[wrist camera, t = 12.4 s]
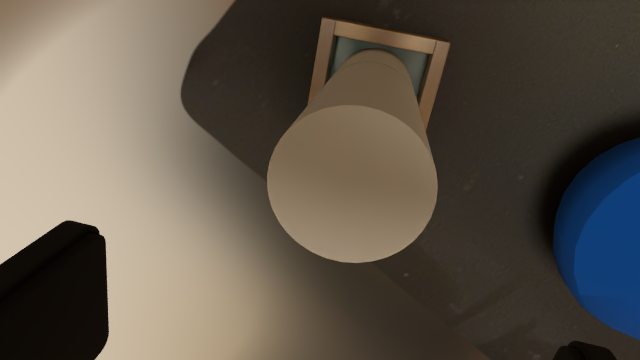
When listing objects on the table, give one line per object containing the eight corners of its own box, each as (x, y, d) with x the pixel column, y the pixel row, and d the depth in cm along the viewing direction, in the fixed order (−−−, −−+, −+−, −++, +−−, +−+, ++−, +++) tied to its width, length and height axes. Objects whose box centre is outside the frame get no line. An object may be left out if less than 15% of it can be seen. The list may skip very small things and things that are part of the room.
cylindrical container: (320, 91, 42) (235, 194, 19) (369, 30, 39) (338, 66, 16) (375, 138, 43) (359, 290, 20) (427, 82, 40) (476, 184, 17)
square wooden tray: (309, 128, 44) (301, 139, 41) (328, 16, 40) (321, 17, 36) (414, 150, 44) (416, 164, 40) (445, 39, 39) (451, 42, 36)
